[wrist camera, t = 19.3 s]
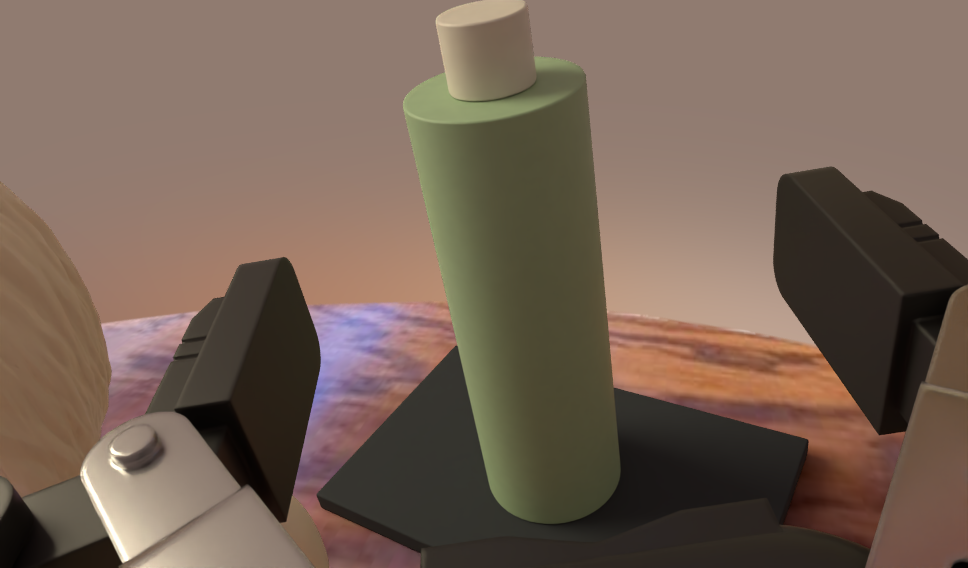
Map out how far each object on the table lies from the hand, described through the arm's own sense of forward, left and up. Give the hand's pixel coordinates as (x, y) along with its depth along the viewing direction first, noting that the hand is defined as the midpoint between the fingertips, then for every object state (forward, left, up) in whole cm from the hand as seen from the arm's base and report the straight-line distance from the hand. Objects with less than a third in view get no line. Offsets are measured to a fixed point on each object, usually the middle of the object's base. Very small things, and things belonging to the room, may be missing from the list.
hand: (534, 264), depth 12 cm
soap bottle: (+5, -8, -15) cm, 18 cm away
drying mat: (+6, -8, -16) cm, 18 cm away
